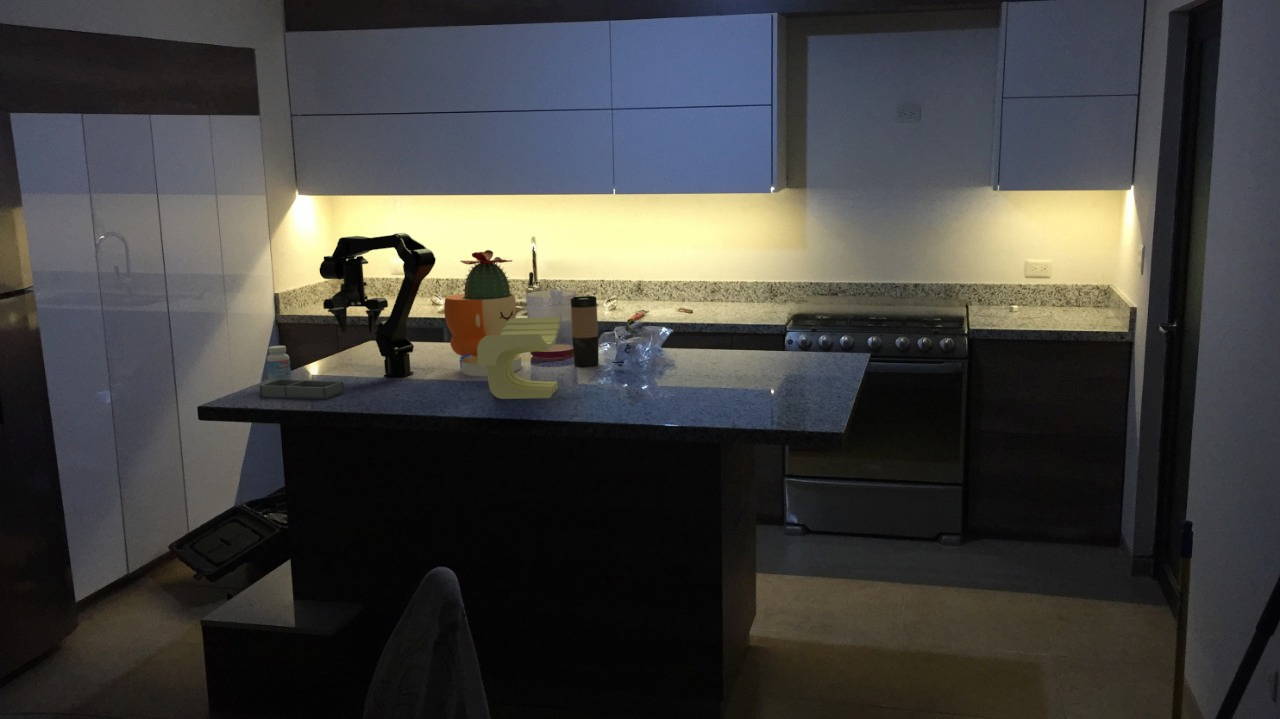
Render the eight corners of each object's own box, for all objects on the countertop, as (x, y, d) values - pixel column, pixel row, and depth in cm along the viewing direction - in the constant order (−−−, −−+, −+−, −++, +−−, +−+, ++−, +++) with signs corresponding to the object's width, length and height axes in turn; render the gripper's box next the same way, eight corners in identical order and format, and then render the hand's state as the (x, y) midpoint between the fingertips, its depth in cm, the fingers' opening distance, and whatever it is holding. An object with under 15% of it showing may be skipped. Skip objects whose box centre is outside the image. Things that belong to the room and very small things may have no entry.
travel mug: (604, 364, 324) (601, 297, 320) (582, 368, 319) (579, 299, 316) (590, 361, 330) (587, 295, 326) (568, 364, 326) (565, 297, 322)
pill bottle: (279, 389, 304) (275, 349, 303) (264, 387, 308) (260, 347, 306) (296, 385, 310) (293, 345, 308) (281, 383, 313) (278, 344, 311)
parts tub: (343, 392, 296) (342, 381, 296) (325, 399, 288) (324, 387, 288) (280, 390, 303) (279, 379, 302) (260, 396, 295) (259, 385, 295)
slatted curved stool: (505, 382, 302) (502, 318, 299) (563, 381, 301) (560, 317, 298) (480, 406, 273) (476, 335, 270) (544, 405, 271) (540, 334, 268)
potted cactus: (529, 362, 333) (523, 246, 326) (508, 376, 311) (501, 252, 305) (461, 362, 336) (454, 248, 330) (436, 376, 315) (427, 254, 309)
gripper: (309, 282, 316) (314, 336, 319) (365, 282, 310) (369, 337, 312) (332, 278, 326) (336, 330, 329) (387, 278, 320) (391, 331, 323)
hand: (357, 332), depth 323 cm, fingers open, 9 cm apart
